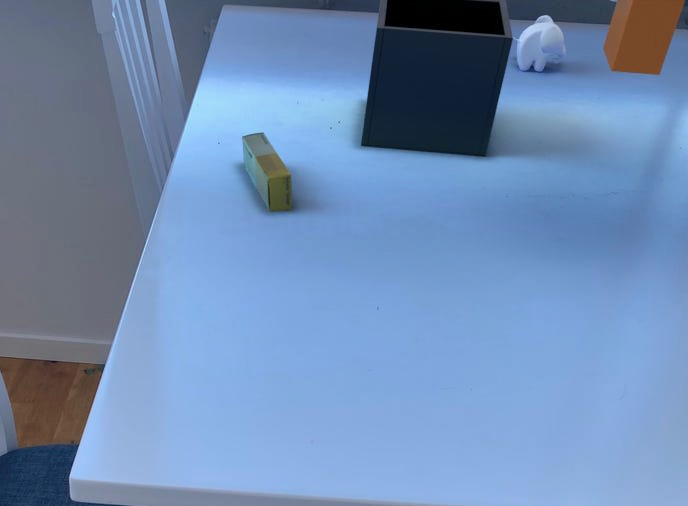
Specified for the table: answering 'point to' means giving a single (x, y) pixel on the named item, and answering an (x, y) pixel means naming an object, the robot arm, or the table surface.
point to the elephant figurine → (540, 44)
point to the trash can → (436, 75)
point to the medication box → (267, 172)
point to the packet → (641, 35)
